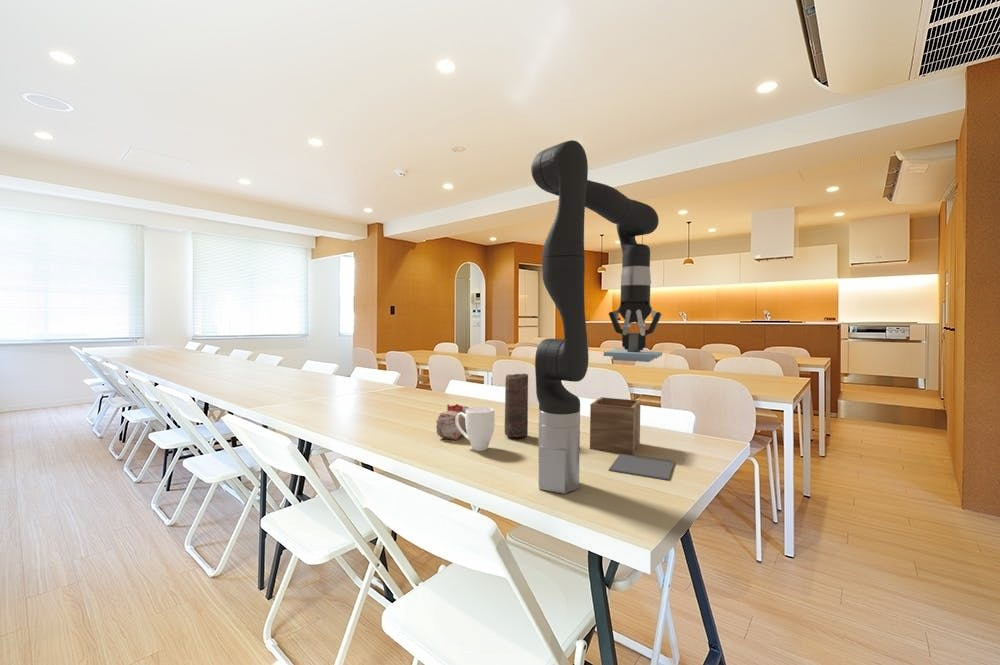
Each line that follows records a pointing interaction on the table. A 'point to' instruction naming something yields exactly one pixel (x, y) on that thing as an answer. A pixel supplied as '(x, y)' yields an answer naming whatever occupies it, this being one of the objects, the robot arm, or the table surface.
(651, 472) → the mat
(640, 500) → the table surface
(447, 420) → the grey speckled jug shape
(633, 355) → the lid
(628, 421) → the box
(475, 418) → the mug
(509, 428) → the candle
